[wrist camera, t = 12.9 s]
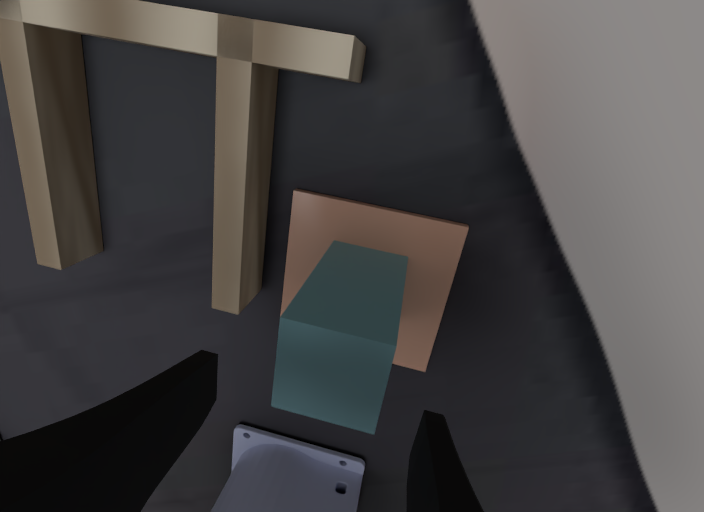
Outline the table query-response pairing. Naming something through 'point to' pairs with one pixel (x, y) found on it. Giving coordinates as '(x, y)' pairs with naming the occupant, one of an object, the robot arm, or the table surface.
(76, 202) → the birch rack
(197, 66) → the table surface
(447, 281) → the terracotta tile
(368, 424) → the teal block
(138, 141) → the table surface
